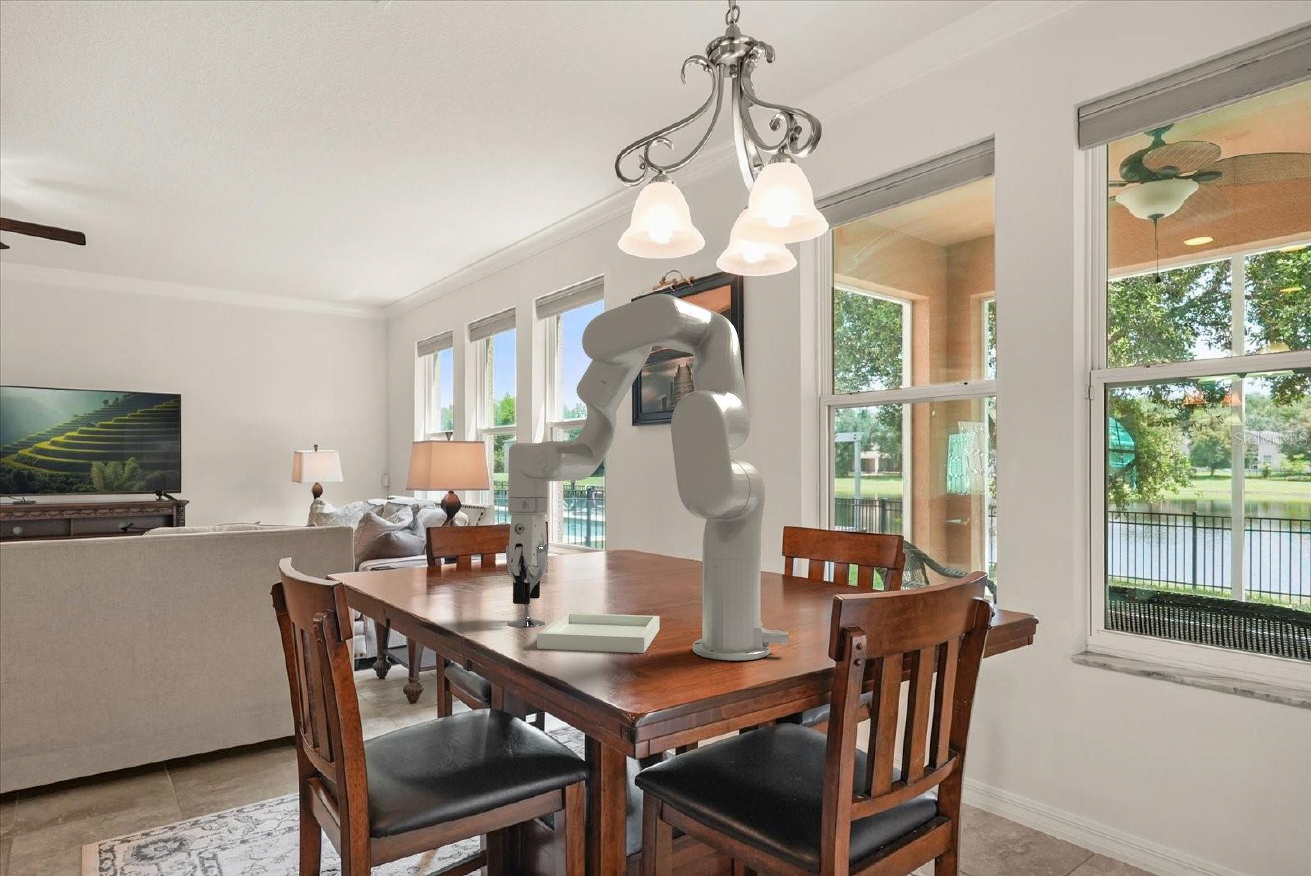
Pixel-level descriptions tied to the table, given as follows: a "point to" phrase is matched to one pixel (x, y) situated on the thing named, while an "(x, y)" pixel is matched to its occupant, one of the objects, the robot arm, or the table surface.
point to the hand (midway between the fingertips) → (526, 600)
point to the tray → (599, 633)
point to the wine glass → (534, 577)
